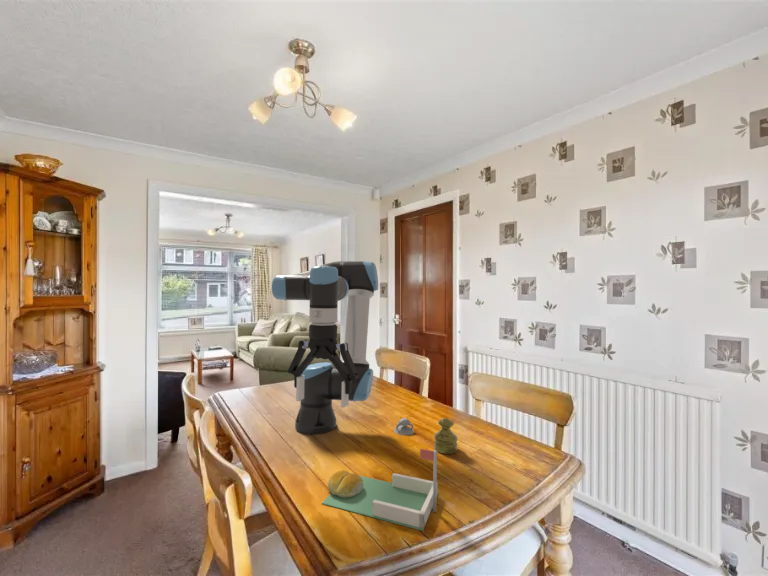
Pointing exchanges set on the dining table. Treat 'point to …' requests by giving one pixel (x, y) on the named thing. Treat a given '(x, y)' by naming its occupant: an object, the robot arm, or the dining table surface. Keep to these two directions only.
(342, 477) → the bread roll
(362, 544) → the dining table surface
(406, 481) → the white u-shaped piece
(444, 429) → the olive green sack
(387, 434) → the dining table surface
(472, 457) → the dining table surface
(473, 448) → the dining table surface
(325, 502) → the green mat
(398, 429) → the miniature
